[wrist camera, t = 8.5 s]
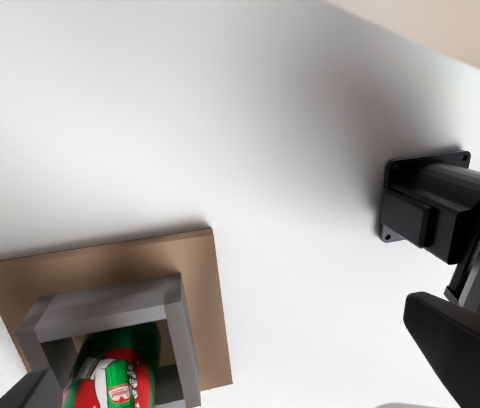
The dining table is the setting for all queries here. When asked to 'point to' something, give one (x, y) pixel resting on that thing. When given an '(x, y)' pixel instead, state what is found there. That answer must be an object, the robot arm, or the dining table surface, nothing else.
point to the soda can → (116, 369)
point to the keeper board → (123, 307)
